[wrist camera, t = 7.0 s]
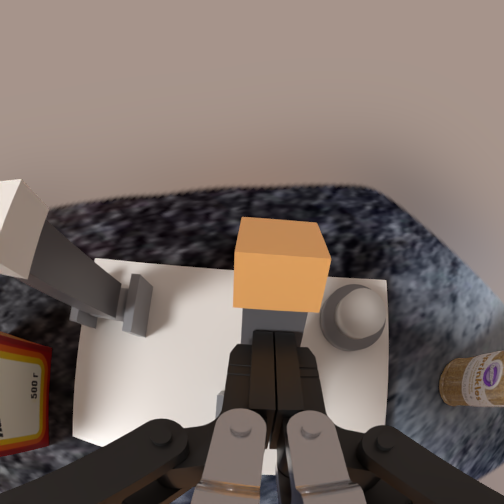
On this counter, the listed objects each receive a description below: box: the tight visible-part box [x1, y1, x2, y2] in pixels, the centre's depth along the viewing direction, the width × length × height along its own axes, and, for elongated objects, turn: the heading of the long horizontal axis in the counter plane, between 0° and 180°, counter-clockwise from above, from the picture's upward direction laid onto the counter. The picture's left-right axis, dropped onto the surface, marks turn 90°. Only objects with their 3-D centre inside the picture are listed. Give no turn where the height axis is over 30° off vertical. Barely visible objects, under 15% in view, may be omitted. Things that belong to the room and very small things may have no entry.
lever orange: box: [233, 217, 331, 347], centre depth 13 cm, size 3×3×13 cm
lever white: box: [0, 179, 129, 322], centre depth 13 cm, size 3×3×13 cm
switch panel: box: [69, 258, 389, 475], centre depth 18 cm, size 22×14×6 cm, turn 86°
